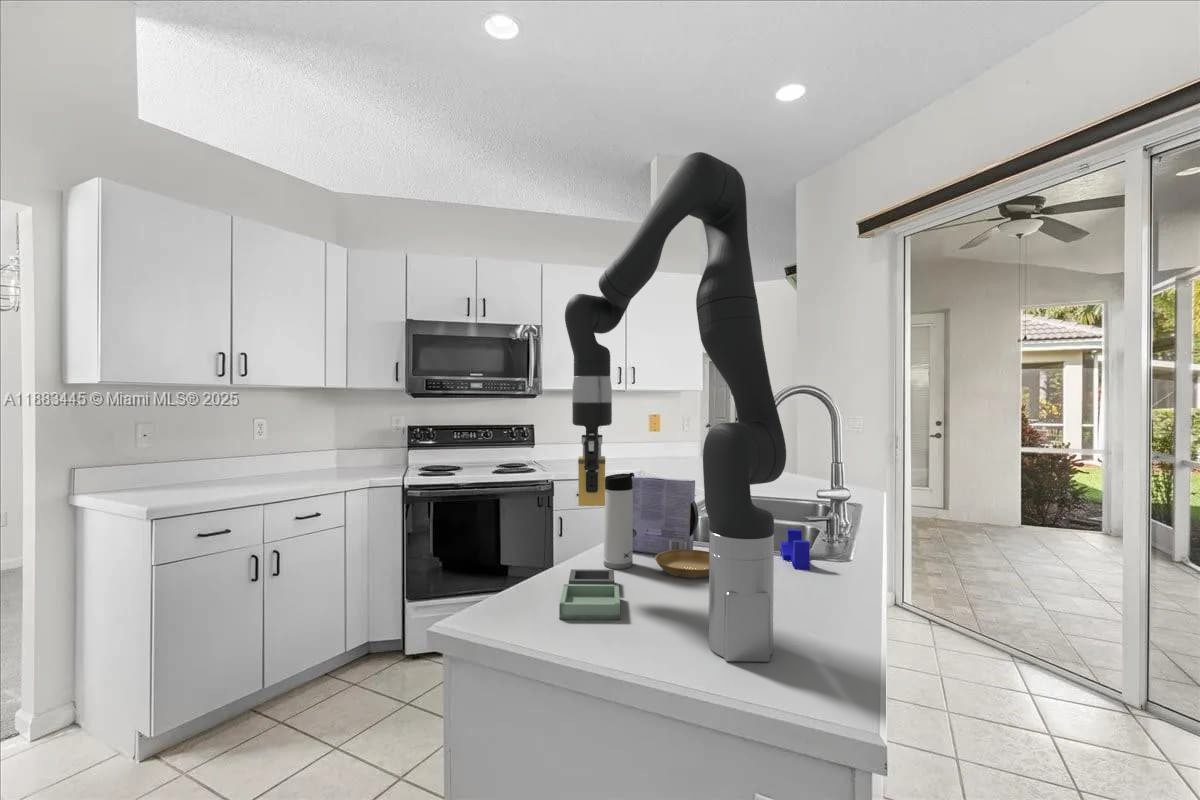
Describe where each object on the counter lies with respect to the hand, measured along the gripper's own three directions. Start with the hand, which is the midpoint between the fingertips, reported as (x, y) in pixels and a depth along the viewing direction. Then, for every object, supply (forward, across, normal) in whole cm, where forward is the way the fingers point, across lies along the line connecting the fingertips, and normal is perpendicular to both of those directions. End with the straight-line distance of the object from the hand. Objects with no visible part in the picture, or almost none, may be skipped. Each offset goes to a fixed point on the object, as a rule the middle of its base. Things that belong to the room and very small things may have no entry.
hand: (592, 490), depth 112 cm
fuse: (+3, 0, 0) cm, 3 cm away
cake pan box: (+19, +26, -14) cm, 36 cm away
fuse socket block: (+19, 0, 0) cm, 19 cm away
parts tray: (+19, -10, 0) cm, 22 cm away
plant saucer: (+19, +12, -20) cm, 31 cm away
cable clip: (+19, +19, -45) cm, 52 cm away
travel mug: (+19, +15, -6) cm, 25 cm away
